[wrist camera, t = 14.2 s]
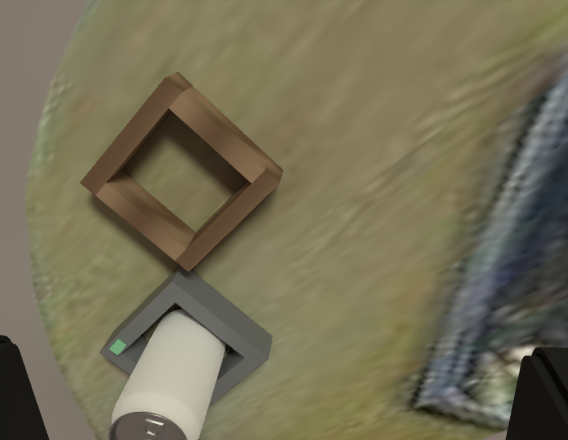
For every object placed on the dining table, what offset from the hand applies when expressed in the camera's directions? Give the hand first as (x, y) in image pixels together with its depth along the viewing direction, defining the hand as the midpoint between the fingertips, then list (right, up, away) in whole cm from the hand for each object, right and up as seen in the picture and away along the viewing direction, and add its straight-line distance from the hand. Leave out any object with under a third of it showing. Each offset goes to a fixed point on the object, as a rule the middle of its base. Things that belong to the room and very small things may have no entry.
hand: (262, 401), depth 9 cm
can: (-8, -7, +35) cm, 37 cm away
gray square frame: (-8, -7, +35) cm, 37 cm away
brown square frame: (-7, +7, +29) cm, 31 cm away
